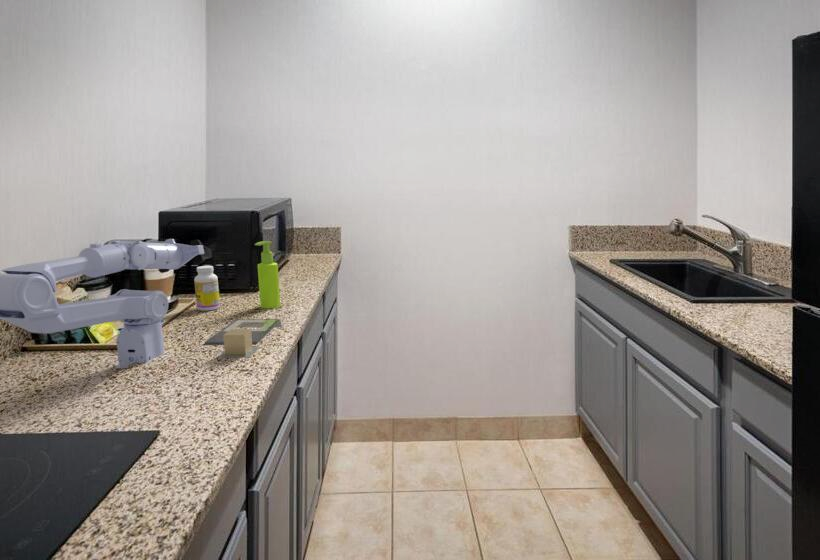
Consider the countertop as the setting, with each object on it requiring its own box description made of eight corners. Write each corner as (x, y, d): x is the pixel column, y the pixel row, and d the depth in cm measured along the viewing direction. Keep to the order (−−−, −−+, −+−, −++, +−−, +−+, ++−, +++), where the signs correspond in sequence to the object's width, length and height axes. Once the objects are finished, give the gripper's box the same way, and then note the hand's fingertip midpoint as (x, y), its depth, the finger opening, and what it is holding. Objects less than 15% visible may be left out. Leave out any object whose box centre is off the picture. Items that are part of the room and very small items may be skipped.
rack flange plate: (257, 350, 125) (256, 341, 124) (205, 350, 125) (204, 342, 125) (281, 326, 144) (280, 319, 144) (236, 326, 145) (235, 319, 145)
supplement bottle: (196, 307, 168) (192, 266, 166) (218, 305, 171) (215, 264, 168) (197, 312, 162) (193, 269, 160) (221, 309, 165) (217, 267, 162)
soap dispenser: (253, 308, 166) (249, 242, 162) (269, 303, 172) (265, 239, 168) (268, 310, 163) (264, 243, 159) (284, 305, 169) (280, 240, 165)
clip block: (245, 355, 116) (244, 335, 116) (224, 355, 117) (223, 335, 116) (252, 348, 121) (251, 329, 120) (232, 349, 121) (230, 329, 120)
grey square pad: (250, 364, 115) (249, 357, 115) (217, 364, 116) (216, 357, 115) (260, 353, 122) (260, 347, 122) (229, 353, 123) (229, 347, 122)
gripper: (182, 230, 119) (219, 234, 133) (128, 245, 123) (169, 247, 136) (188, 262, 119) (224, 262, 132) (134, 276, 123) (174, 275, 136)
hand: (197, 256), depth 134 cm, fingers open, 7 cm apart
